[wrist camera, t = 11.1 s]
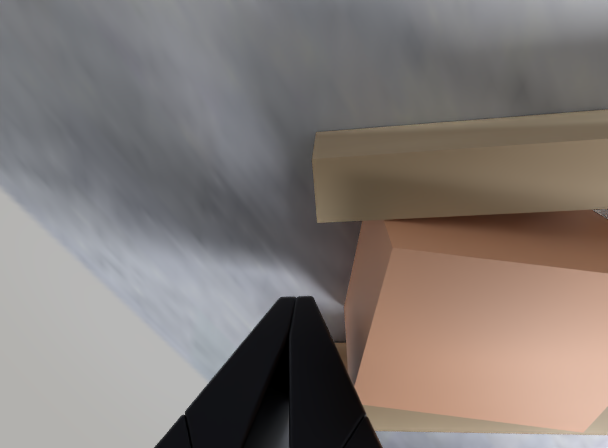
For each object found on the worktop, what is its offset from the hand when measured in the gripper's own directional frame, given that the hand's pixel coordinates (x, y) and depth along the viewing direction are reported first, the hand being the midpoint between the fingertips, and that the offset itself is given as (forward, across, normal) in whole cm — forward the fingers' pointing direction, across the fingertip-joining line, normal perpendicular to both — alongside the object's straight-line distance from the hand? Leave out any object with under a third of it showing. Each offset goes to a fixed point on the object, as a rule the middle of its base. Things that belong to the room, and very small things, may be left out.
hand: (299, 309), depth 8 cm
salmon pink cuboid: (+1, -4, 0) cm, 4 cm away
